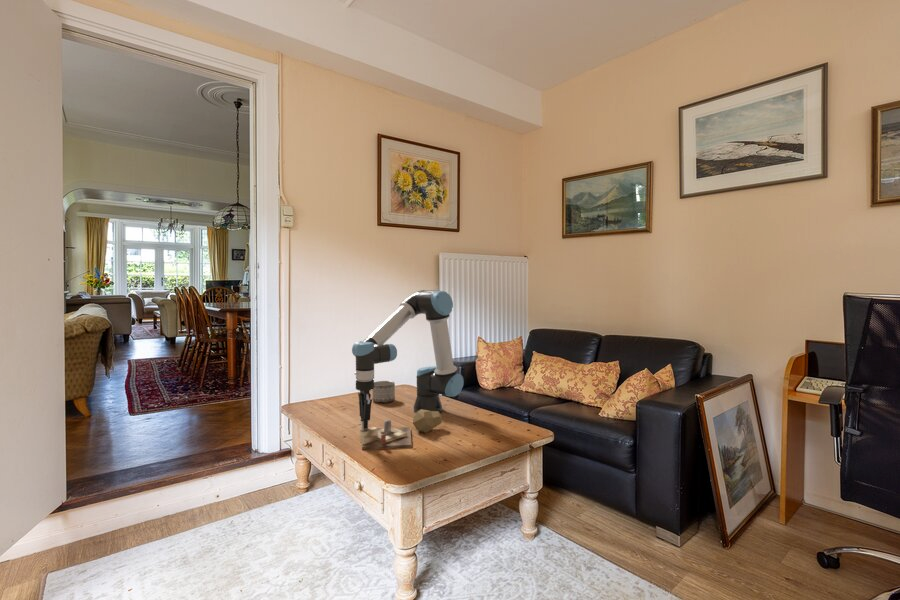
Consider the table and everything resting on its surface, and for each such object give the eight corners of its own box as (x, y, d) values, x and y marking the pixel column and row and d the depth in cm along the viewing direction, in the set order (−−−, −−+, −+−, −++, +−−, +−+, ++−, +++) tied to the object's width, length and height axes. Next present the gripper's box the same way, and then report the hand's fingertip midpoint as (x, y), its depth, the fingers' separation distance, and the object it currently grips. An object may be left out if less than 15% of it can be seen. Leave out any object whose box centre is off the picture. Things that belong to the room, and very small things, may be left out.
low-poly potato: (410, 436, 193) (431, 427, 189) (404, 412, 198) (424, 403, 194) (428, 436, 206) (448, 427, 201) (422, 413, 210) (442, 404, 206)
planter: (373, 398, 256) (373, 381, 255) (394, 398, 257) (394, 380, 257) (371, 404, 243) (371, 386, 243) (394, 403, 244) (394, 385, 244)
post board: (410, 429, 201) (410, 412, 201) (411, 447, 179) (411, 428, 179) (366, 431, 199) (366, 414, 198) (362, 449, 177) (361, 430, 177)
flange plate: (390, 429, 197) (390, 417, 197) (407, 435, 189) (407, 423, 189) (354, 439, 184) (354, 427, 184) (370, 447, 175) (370, 434, 175)
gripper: (352, 377, 186) (352, 431, 187) (359, 383, 175) (359, 441, 176) (369, 375, 189) (369, 429, 191) (378, 382, 178) (377, 439, 179)
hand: (364, 435), depth 183 cm, fingers closed
